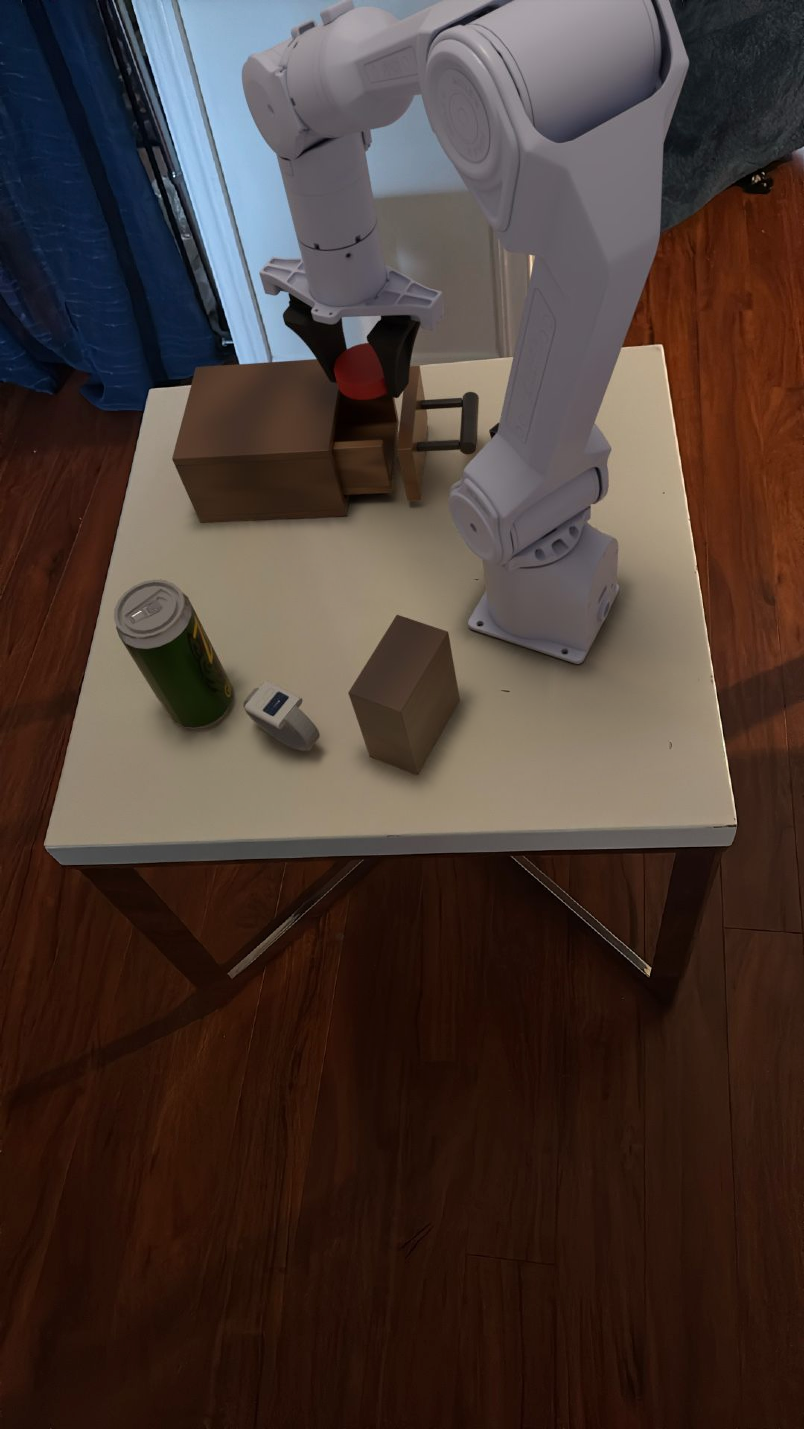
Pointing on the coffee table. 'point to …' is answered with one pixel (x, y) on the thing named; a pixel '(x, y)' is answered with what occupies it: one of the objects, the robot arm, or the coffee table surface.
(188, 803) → the coffee table surface
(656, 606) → the coffee table surface
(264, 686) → the wristwatch
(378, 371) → the lid
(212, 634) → the coffee table surface
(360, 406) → the drawer
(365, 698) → the stand
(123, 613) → the beer can
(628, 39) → the robot arm
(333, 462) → the cabinet
